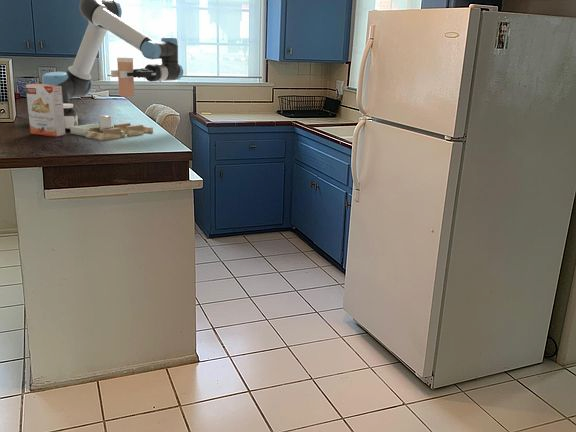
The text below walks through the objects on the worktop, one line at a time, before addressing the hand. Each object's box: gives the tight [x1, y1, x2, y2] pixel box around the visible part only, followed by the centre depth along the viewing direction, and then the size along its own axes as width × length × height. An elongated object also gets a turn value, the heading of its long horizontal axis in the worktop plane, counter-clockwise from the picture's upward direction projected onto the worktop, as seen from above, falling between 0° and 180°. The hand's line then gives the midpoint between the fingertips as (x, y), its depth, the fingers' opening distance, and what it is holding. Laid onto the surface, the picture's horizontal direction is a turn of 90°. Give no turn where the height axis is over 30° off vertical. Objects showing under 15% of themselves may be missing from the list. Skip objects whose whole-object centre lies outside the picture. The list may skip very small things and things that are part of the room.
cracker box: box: [25, 83, 67, 138], centre depth 238 cm, size 14×6×21 cm, turn 70°
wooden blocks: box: [85, 122, 154, 141], centre depth 247 cm, size 12×28×4 cm, turn 148°
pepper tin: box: [97, 114, 112, 133], centre depth 239 cm, size 5×5×9 cm
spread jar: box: [63, 103, 79, 133], centre depth 253 cm, size 12×11×12 cm
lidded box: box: [116, 57, 135, 98], centre depth 244 cm, size 5×5×16 cm
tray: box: [69, 123, 114, 137], centre depth 248 cm, size 12×14×3 cm
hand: (116, 74), depth 239 cm, fingers closed on lidded box, 5 cm apart
